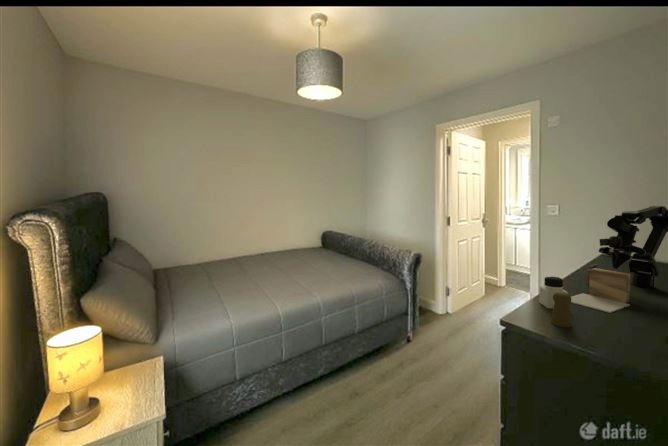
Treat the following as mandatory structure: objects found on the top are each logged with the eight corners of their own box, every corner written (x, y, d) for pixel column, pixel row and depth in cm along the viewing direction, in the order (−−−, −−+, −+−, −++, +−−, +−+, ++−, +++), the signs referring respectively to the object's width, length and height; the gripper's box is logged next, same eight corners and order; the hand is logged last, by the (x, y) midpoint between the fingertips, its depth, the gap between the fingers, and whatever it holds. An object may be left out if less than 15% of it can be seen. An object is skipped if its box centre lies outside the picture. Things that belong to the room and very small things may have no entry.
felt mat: (582, 294, 131) (582, 293, 131) (629, 305, 117) (629, 304, 117) (562, 300, 125) (562, 299, 124) (609, 313, 110) (609, 311, 110)
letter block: (593, 293, 132) (594, 268, 131) (629, 301, 121) (630, 273, 120) (588, 295, 130) (589, 269, 129) (624, 303, 119) (625, 275, 118)
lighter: (593, 286, 142) (593, 266, 141) (584, 284, 145) (585, 265, 144) (600, 283, 146) (601, 264, 145) (592, 282, 149) (593, 263, 148)
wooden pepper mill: (546, 320, 105) (547, 291, 104) (561, 319, 106) (562, 290, 105) (560, 327, 99) (561, 296, 98) (576, 326, 100) (577, 295, 99)
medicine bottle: (567, 309, 115) (568, 280, 114) (547, 308, 116) (548, 279, 115) (557, 303, 122) (558, 275, 121) (538, 302, 123) (539, 275, 122)
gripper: (592, 232, 143) (581, 261, 142) (622, 228, 125) (611, 261, 124) (616, 240, 141) (606, 270, 140) (651, 237, 123) (640, 271, 122)
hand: (614, 268), depth 132 cm, fingers closed
